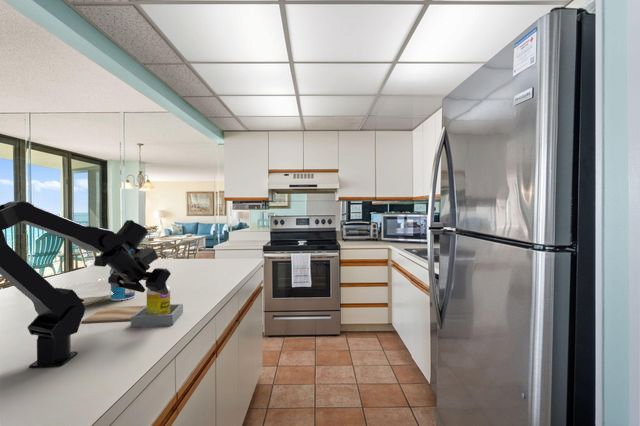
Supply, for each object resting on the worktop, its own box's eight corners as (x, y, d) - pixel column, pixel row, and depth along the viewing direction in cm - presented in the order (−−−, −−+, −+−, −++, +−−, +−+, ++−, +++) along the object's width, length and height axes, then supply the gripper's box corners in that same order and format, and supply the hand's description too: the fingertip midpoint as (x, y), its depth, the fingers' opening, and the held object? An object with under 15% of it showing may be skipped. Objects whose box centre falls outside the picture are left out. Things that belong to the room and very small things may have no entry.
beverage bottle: (107, 298, 126) (107, 246, 126) (132, 294, 132) (132, 245, 131) (112, 302, 120) (111, 248, 120) (137, 298, 125) (137, 247, 125)
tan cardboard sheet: (131, 320, 100) (131, 318, 100) (81, 323, 98) (81, 321, 98) (147, 307, 114) (147, 305, 114) (104, 309, 112) (104, 307, 112)
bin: (172, 324, 97) (172, 314, 97) (130, 327, 95) (130, 316, 95) (182, 312, 108) (182, 303, 108) (145, 314, 106) (145, 305, 106)
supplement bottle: (160, 324, 97) (160, 281, 97) (141, 322, 99) (141, 280, 99) (174, 316, 104) (174, 276, 104) (156, 315, 105) (156, 276, 105)
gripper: (165, 241, 92) (192, 272, 103) (116, 239, 98) (147, 268, 109) (142, 274, 85) (174, 304, 95) (91, 269, 91) (126, 298, 101)
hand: (155, 292), depth 100 cm, fingers open, 9 cm apart
